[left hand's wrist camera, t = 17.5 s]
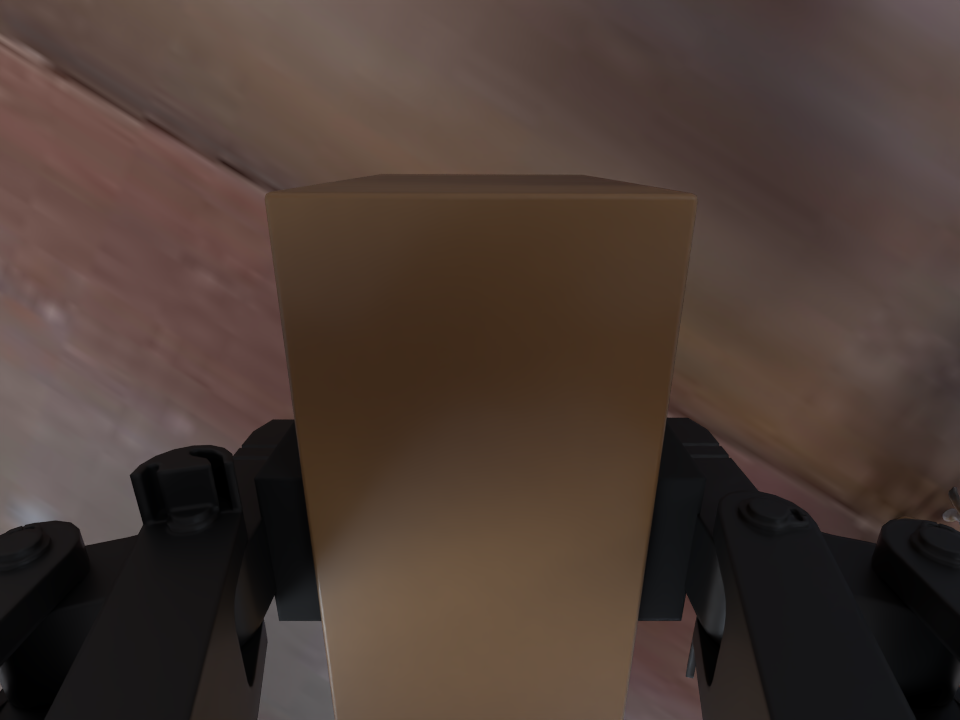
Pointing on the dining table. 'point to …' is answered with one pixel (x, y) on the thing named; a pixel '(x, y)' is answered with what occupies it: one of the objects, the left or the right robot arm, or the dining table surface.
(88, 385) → the dining table surface
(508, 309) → the bar
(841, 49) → the dining table surface
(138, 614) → the left robot arm
